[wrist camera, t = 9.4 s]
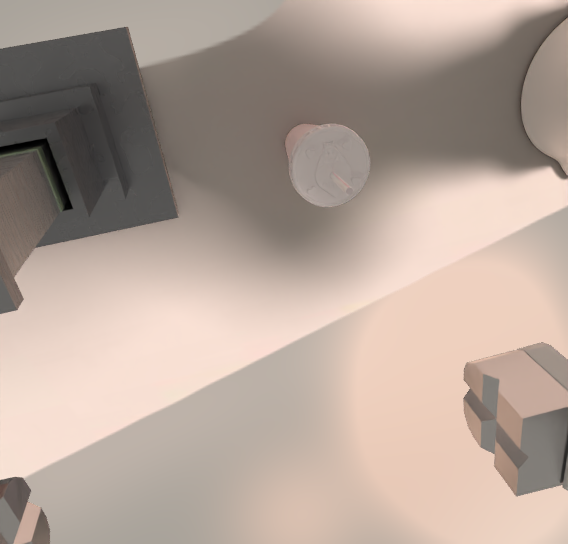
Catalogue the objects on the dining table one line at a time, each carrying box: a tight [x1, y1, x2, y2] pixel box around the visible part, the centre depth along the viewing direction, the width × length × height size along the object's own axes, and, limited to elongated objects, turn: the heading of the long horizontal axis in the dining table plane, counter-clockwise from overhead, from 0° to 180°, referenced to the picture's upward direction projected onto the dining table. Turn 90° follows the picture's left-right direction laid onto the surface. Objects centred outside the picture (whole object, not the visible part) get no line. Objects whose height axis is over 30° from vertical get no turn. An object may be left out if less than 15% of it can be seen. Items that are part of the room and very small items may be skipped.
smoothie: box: [285, 123, 370, 207], centre depth 40 cm, size 6×6×14 cm
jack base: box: [0, 27, 178, 248], centre depth 37 cm, size 16×16×12 cm
